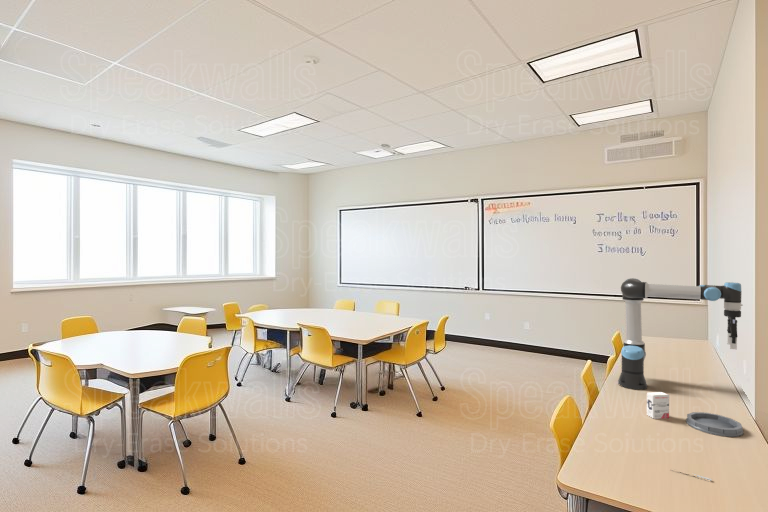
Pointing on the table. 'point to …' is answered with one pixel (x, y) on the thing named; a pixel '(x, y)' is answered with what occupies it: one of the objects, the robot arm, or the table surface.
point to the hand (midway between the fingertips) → (731, 346)
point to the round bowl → (714, 424)
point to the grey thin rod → (704, 477)
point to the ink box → (658, 405)
